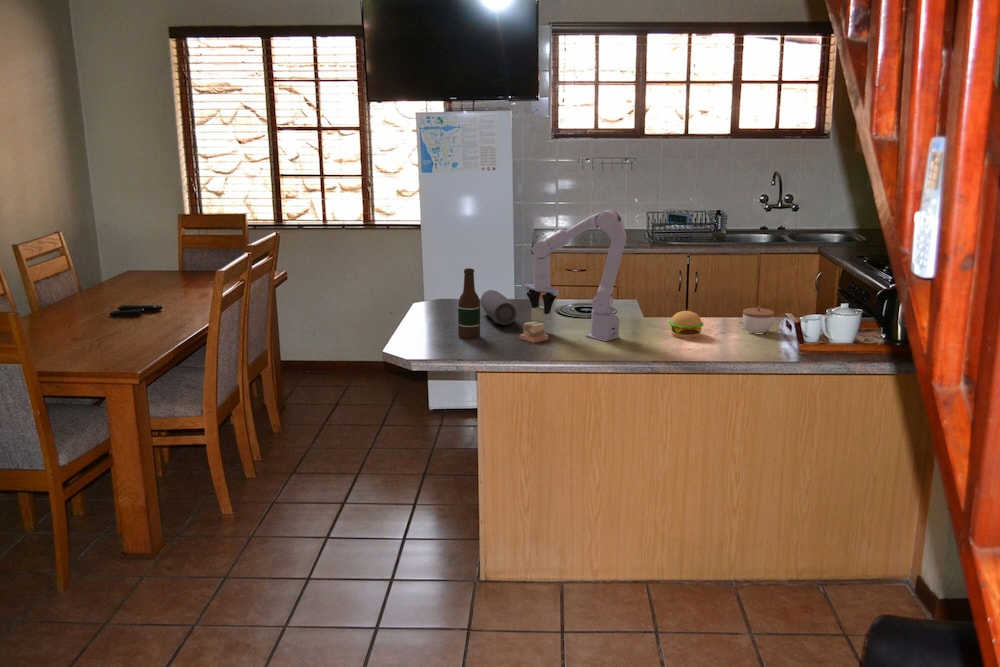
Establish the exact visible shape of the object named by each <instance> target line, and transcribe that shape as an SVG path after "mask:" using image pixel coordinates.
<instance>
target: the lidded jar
mask: <svg viewBox="0 0 1000 667" xmlns="http://www.w3.org/2000/svg"><path fill="white" fill-rule="evenodd" d="M774 316H775V312H774V311H773V310H771V309H767V308H762V307H761V306H757V307H749V308H748V307H747V308H744V309H743V310H742V323H743V326H744V329H746V331H747V332H748V331H749V332H751V333H765V332H766V333H767V332H768V331H769V330H770V329H771V327H772V326H773V322H774ZM749 332H748V333H749ZM751 333H750V334H751ZM766 333H765V334H766Z"/></svg>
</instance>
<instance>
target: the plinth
mask: <svg viewBox="0 0 1000 667" xmlns="http://www.w3.org/2000/svg"><path fill="white" fill-rule="evenodd" d="M519 339H520V340H523V341H525V342H530V343H533V344H534V343H535V344H536V343H539V342H544V341H548V340H549V334H546V333H544V335H542V336H538V337H530V336H527V335H524V333H522V334H521V333H520V334H519Z"/></svg>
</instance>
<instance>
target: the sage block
mask: <svg viewBox="0 0 1000 667" xmlns="http://www.w3.org/2000/svg"><path fill="white" fill-rule="evenodd" d="M530 309H531V311H530V313H531V315H530V316H531V317H530V319H531V320H532V321H536V322H539V323H543V322H546V321H551V320H552V308H551V311H550V314H545V313H544V306H541V305H540V306H539V307H535V308H532V307H531V308H530Z"/></svg>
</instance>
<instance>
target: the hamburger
mask: <svg viewBox="0 0 1000 667" xmlns="http://www.w3.org/2000/svg"><path fill="white" fill-rule="evenodd" d="M668 325H670V327H671V330H670V333H671V335H672V337H675V338H677V337H678V339H683V338H692V339H697V338H699V337H700V335H701V332H702V327H703V326H704V323H703V321H702V319H701V317H700V316H699V314H697V313H696V312H693V311H691V310H682V311H678V312H676V313H675V314H674V315H673V316H672V318H671V320H669V321H668ZM696 337H697V338H696Z"/></svg>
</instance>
